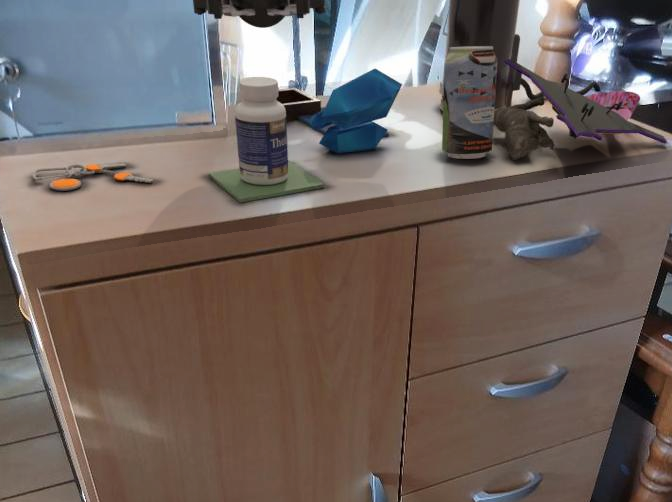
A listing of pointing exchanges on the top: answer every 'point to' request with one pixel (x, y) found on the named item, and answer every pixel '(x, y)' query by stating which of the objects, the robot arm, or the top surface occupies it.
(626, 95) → the headband
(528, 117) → the dog figurine
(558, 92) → the toy airplane
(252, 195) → the mat
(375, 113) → the blue faceted sculpture
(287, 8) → the robot arm
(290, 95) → the holder
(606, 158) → the top surface
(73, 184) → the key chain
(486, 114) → the beverage can
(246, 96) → the pill bottle
